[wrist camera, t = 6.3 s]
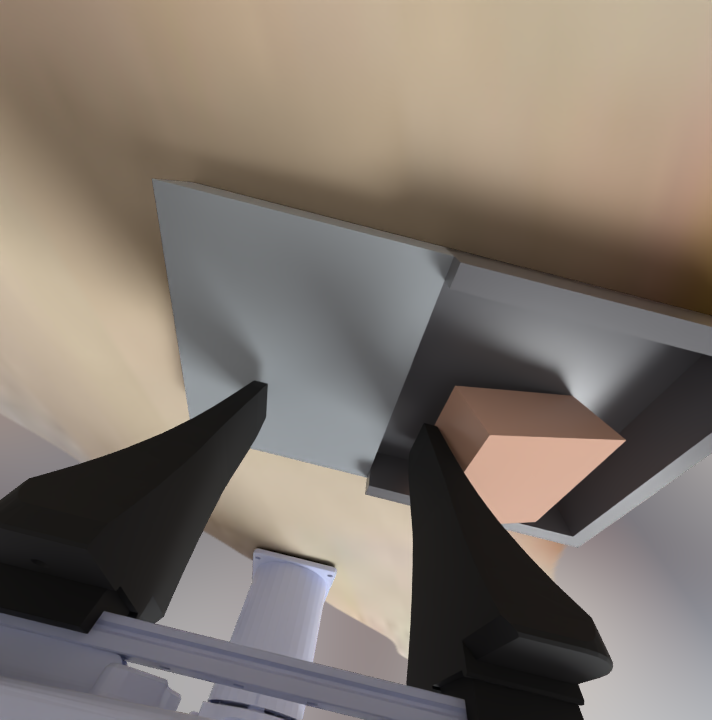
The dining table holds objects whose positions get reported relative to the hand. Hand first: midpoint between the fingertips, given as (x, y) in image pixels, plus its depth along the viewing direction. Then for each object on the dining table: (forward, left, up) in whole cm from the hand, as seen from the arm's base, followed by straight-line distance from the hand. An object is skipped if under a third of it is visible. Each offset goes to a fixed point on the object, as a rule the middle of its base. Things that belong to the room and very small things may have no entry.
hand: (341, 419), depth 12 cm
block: (0, -7, -1) cm, 7 cm away
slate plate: (+1, +3, -3) cm, 4 cm away
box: (+1, -8, -3) cm, 9 cm away
